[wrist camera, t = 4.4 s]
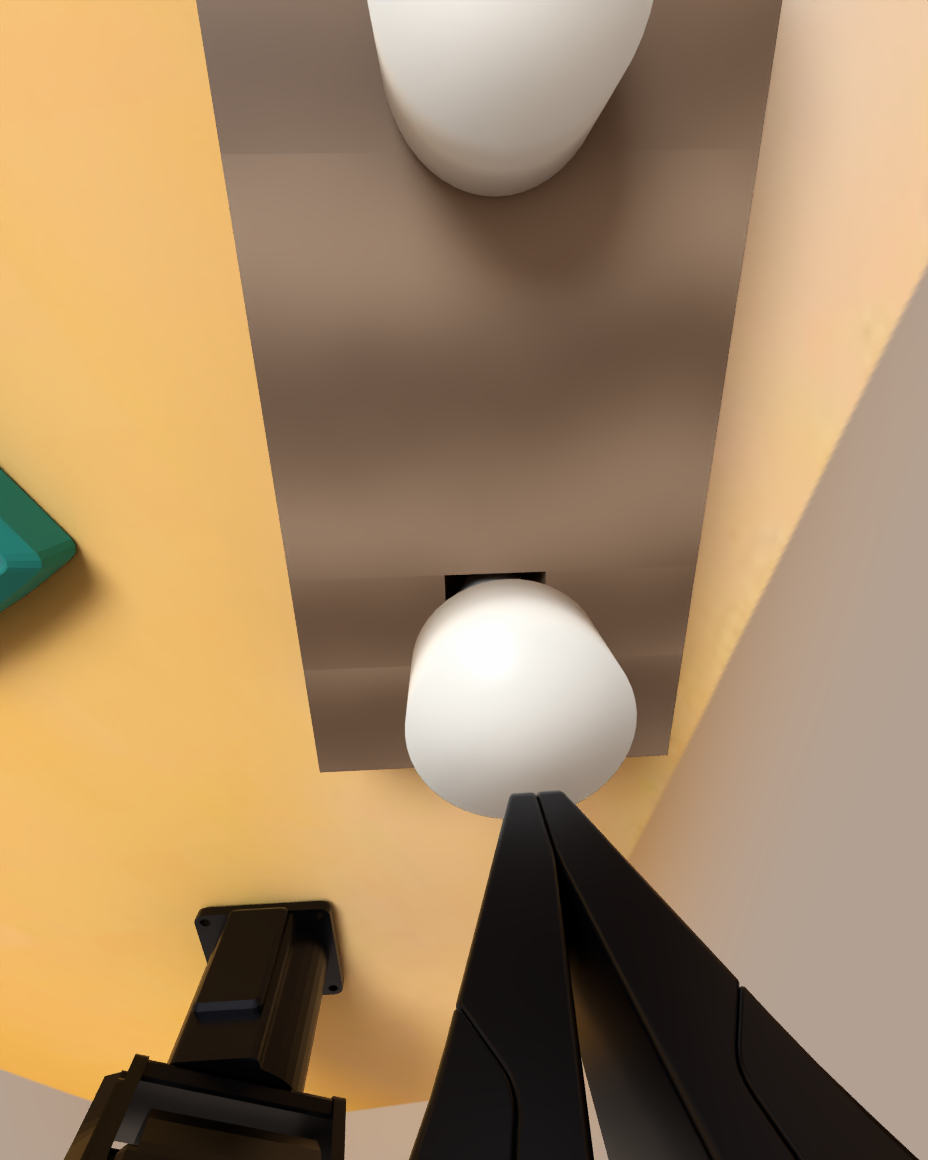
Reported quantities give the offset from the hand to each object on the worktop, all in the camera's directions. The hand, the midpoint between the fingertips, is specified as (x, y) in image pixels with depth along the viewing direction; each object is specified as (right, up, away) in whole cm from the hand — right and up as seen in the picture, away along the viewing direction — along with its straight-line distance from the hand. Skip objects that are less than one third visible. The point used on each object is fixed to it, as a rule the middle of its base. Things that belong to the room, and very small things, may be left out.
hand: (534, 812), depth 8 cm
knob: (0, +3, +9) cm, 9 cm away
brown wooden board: (0, +10, +9) cm, 13 cm away
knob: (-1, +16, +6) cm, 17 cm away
